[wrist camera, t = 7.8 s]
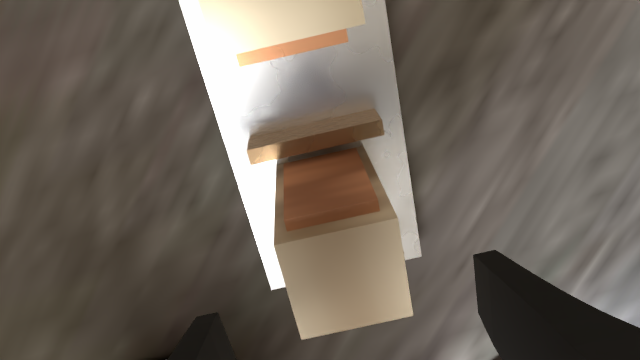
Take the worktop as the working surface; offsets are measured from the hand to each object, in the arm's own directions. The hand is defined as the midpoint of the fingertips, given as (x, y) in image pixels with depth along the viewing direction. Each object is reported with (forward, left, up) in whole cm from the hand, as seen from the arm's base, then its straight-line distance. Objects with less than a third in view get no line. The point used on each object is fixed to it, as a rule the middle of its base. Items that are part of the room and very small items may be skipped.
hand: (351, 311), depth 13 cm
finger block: (0, 0, -7) cm, 7 cm away
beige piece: (+4, 0, -8) cm, 9 cm away
